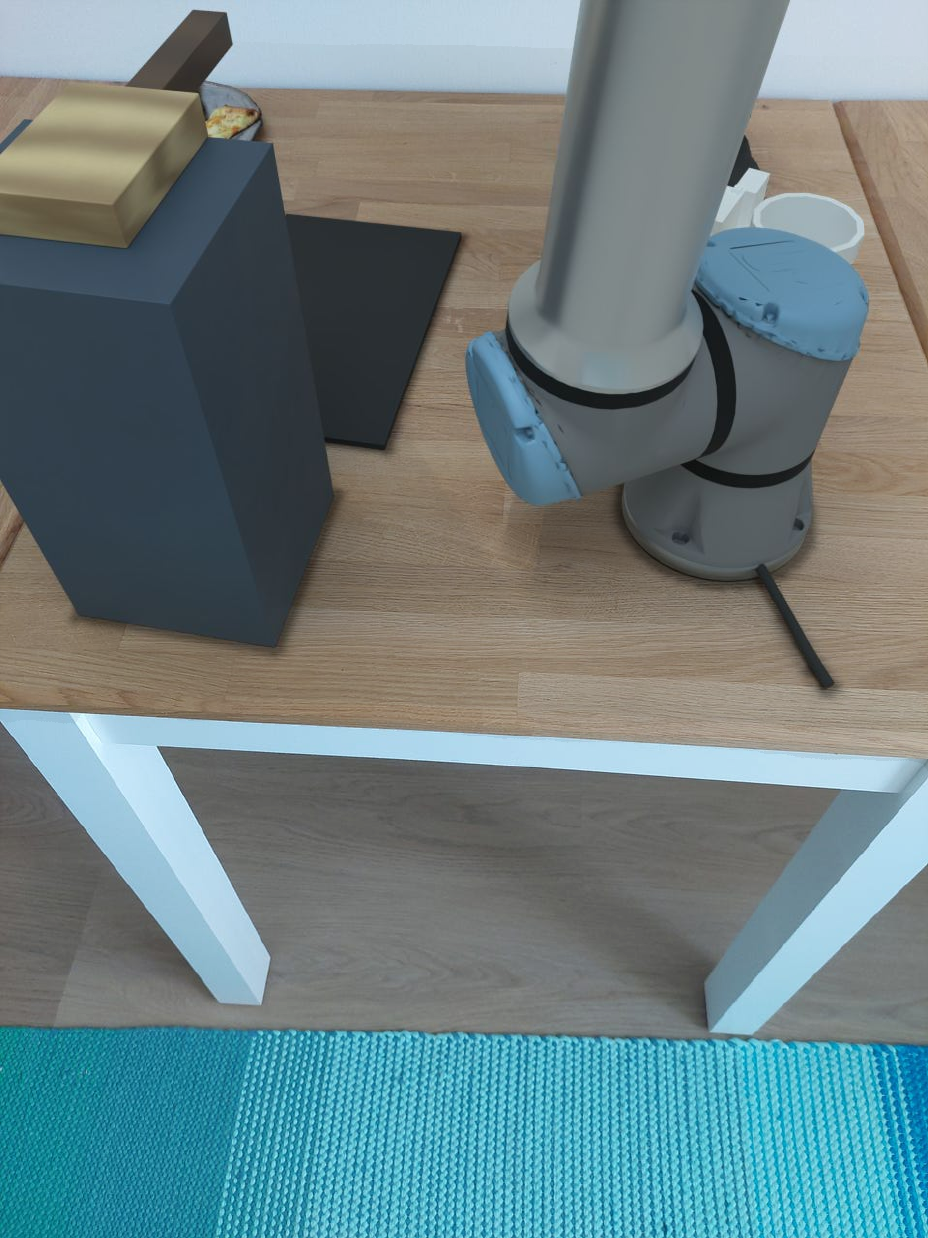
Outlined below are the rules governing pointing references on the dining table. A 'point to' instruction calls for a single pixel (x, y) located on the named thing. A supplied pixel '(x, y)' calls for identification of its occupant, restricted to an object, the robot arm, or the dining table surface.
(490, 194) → the dining table surface
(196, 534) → the pedestal
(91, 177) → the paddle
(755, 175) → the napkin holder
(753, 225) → the foam cup
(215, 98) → the food plate
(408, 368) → the mat
